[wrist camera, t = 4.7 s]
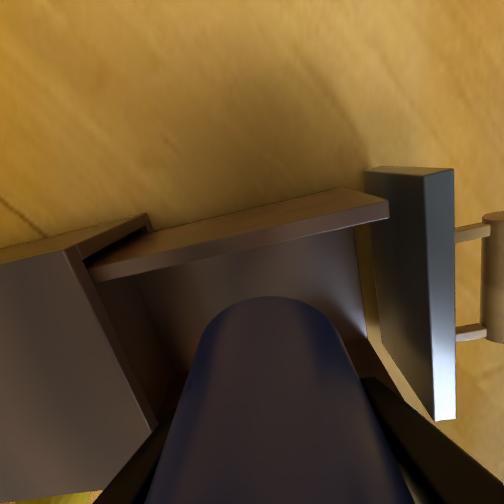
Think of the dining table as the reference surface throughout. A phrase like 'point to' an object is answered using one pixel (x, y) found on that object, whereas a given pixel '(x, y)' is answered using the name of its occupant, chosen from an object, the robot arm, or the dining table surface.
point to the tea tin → (275, 417)
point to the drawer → (310, 280)
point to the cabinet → (64, 370)
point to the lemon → (59, 499)
